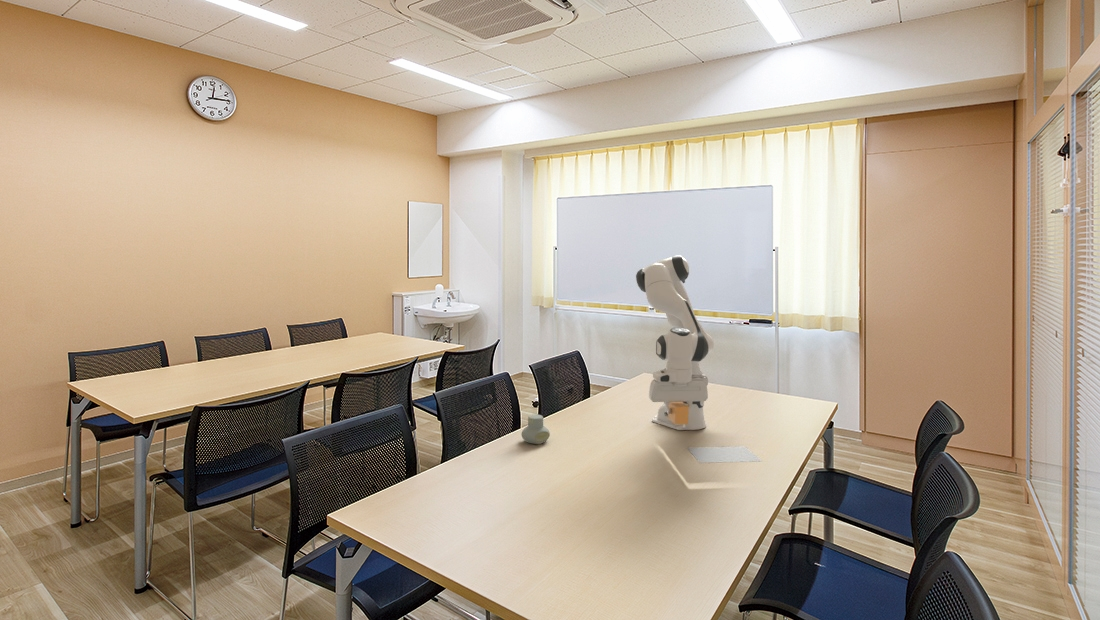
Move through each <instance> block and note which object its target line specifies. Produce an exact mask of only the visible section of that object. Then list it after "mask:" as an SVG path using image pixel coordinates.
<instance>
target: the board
mask: <svg viewBox="0 0 1100 620" xmlns="http://www.w3.org/2000/svg"><path fill="white" fill-rule="evenodd" d="M686 449H687V450H688V451H689V452H690V453H691V455H692V456H693V457H694V458H695V459H696V461H697V462H698V463H699V464H700V463H701V464H704V463H705V464H706V463H708V464H710V463H714V464H715V463H746V462H747V463H751V462H762V460H761V459H760V458H759V457H758V456H757V455H755V453H754V452H752V451H751V450H750V449H749V448H748V447H746V446H744V445H742V446H741V445H740V446H707V447H705V446H704V447H703V446H701V447H699V446H698V447H695V446H694V447H686Z"/></svg>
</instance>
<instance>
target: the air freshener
mask: <svg viewBox="0 0 1100 620" xmlns="http://www.w3.org/2000/svg"><path fill="white" fill-rule="evenodd" d="M550 436H551V432H550V429H549V428H548V427H546V426H544V416H543V415H541V414H530V415H528V417H527V426H525V427H524V428H523V429H522V431H521V437H522V439H523V440H524V441H525V442H527V443H528V444H534V445H541V444H543V443H545V442H546V441H547V440H548V439H550Z"/></svg>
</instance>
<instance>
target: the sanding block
mask: <svg viewBox="0 0 1100 620" xmlns="http://www.w3.org/2000/svg"><path fill="white" fill-rule="evenodd" d="M668 406H669V408H671V409H672V414H668V418H669V419H670V420H671V421H672V422H673V423H674V424H688V412H689V407H688V406H687V405H685V404H684V403H683V402H669V405H668Z"/></svg>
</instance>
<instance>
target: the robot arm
mask: <svg viewBox="0 0 1100 620" xmlns="http://www.w3.org/2000/svg"><path fill="white" fill-rule="evenodd" d="M689 275H690V266H689V263H688V261H687V260H686V258H684V256H682V255H680V254H678V255H672V256H671V257H668V258H664V259H660V260H657V261H656V262H653V263H652V264H650V265H648V266H645V267H642V268H641V269H639V270H637V272H636V274H635V281H636V284H637V287H638V288H639V289H640V291H641V292H644V293H645V295H646V299H647V302H648V304H649V305H650V307H652V308H653V309H654V310H656V311H658V312H661V313H664V314H665V315H666V319H667V321H668V324H669V325H670V326H671V327H672V328H671V329H669V330H668V333H666V334H663V335H660V336H659V337H658V339H656V342H655V353H656V354H655V355H656V356H658V358H659V359H661V360H663V361H666V368H663V369H659V370H658V371H657V370H656V371H654V372H653V373H652V378H653V379H652V380H651V382H650V384H649V390H648V397H649V399H650V401H651V402H652V403H663V404H661V405H660V406H659V408H658V411H657V414H655V415H654V416H652V419H651V422H653V423H655V424H659V425H661V426H664V427H667V428H671V429H674V430H677V431H685V430H686V431H687V430H689V431H694V430H695V431H696V430H702V429H704V428H706V427H707V424H706V420H705V414H704V406H705V402H706V401H708V398H709V397H708V395H709V394H708V384H709V379H708V376H706V375H705V374H704V373H703V371H702V370H701V368H700V363H699V362H701V361H702V360H703V359H705V358H706V356H708V355H709V354H710V353H711V352H712V351H713V349H714V345H715V343H714V339H713V338H712V336H711V335H710V334H708V333H707V332H706V331H705V330H704V328H703V327H702V325H701V323H700V322H699V321H698V318H697V316H696V314H695V312H694V309H693V306H692V303H691V300H690V297H689V295H688V293H687V290H686V289H685V287H684V284H685V283H686V280H687V279H688V277H689ZM669 402H683V403H684V404H685V405H687V406H688V407H689V412H688V424H674V423H673V422H672V421H671V420H670V419H669V418H668V414H672V409H671V408H669V406H668V405H669Z"/></svg>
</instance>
